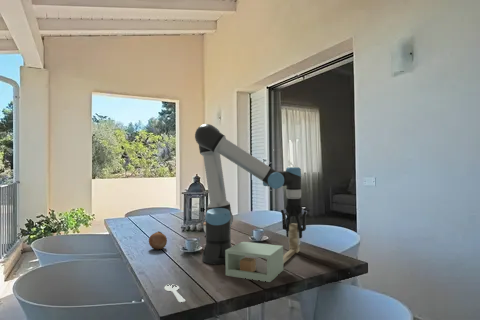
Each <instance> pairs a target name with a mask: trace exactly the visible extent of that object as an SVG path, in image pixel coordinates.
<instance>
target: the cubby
mask: <svg viewBox="0 0 480 320" xmlns="http://www.w3.org/2000/svg"><path fill="white" fill-rule="evenodd" d="M283 255H284V245H277V244H267V243H259V242H250V241H241V242H238V243H237V244H235V245H232V247H231V248H229V249H227V250H225V276H228V277H233V278H240V279H241V278H242V279H245V278H246V279H247V280H252V279H253V280H254V281H258V280H260V281H259V282H265V281H266V283H271V282H272V281H273V280H274V279H275V278H276V277H277V276H278V274H279V275H280V274H281V273H282V272H283V271H284V264H283ZM245 257H251V258H262V259H266V273H262V272H255V271H254V272H248V271H241V270H240V260H241V259H243V258H245ZM246 279H245V280H246ZM253 280H252V281H253Z"/></svg>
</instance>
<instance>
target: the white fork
mask: <svg viewBox="0 0 480 320" xmlns="http://www.w3.org/2000/svg"><path fill="white" fill-rule="evenodd" d="M169 284H170V283H169ZM169 284H166V285H164V289H163V290H164V291H166V292H169V291H171V292H172V294H173V295H174V297H175V298H176V299H175V300H177V302H178V303H181V302H182V303H185V302H186V299H185V298H184V297H183V296H182V295H181V294H180V293H179V290H180V286H179V285H176V284H175V285H176V286H177V287H175V286H174V287H173V288H172V285H174V284H172V283H171V284H172V285H171V286H170V285H169ZM167 285H169V286H167ZM178 289H179V290H178Z"/></svg>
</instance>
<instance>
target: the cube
mask: <svg viewBox="0 0 480 320" xmlns="http://www.w3.org/2000/svg"><path fill="white" fill-rule="evenodd" d="M256 263H257V260H256V258H255V257H247V256H245V258H243V259H241V260H240V268H239V270H241V271H248V272H255V271H256V269H257V266H256Z"/></svg>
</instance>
